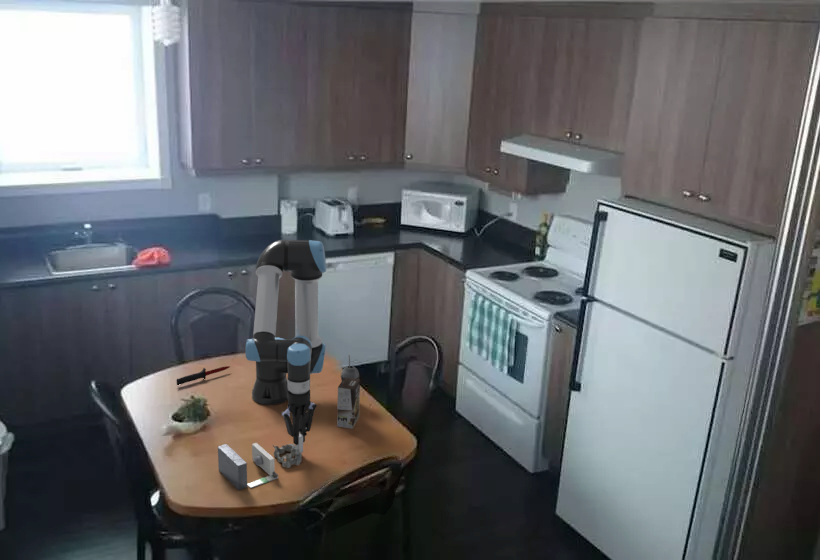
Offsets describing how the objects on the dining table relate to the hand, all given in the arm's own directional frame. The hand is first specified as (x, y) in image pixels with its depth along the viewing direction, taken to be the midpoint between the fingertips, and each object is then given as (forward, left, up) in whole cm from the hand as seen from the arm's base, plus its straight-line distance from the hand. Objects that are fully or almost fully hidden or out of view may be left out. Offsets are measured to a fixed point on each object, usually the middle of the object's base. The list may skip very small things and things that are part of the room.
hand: (299, 451), depth 271 cm
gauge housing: (0, -19, -1) cm, 19 cm away
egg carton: (0, -5, -2) cm, 5 cm away
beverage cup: (-21, +36, -2) cm, 42 cm away
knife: (-71, -1, -2) cm, 71 cm away
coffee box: (-9, +27, -2) cm, 28 cm away
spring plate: (+1, -15, -1) cm, 15 cm away
